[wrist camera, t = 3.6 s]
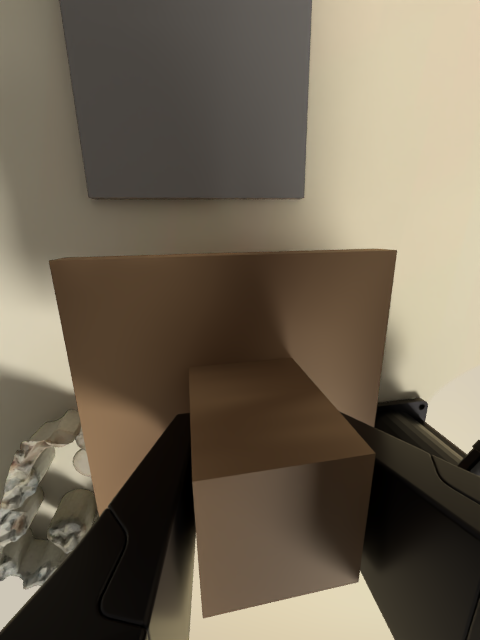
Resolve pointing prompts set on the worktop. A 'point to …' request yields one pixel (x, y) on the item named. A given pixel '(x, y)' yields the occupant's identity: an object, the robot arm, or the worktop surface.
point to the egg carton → (26, 497)
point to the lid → (238, 400)
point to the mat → (190, 96)
